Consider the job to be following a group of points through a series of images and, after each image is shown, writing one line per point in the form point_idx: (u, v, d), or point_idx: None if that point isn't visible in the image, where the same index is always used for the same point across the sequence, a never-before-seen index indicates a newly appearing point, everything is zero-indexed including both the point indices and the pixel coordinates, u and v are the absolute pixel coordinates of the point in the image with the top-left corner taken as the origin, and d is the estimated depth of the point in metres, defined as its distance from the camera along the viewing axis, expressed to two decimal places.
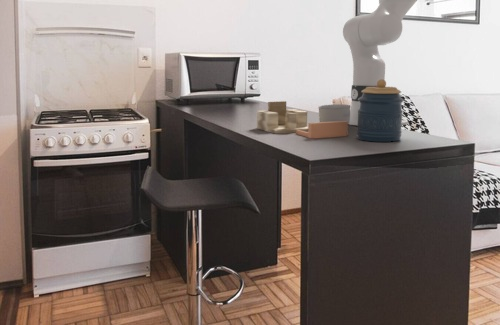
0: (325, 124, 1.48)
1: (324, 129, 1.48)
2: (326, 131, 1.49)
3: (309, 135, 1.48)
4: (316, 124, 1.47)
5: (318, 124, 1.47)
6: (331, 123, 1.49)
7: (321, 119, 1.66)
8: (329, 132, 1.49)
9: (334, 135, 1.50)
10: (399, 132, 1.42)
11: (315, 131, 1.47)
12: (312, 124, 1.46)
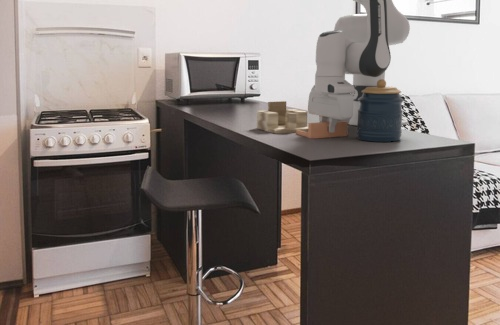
0: (325, 124, 1.48)
1: (324, 129, 1.48)
2: (326, 131, 1.49)
3: (309, 135, 1.48)
4: (316, 124, 1.47)
5: (318, 124, 1.47)
6: None
7: None
8: (329, 132, 1.49)
9: (334, 135, 1.50)
10: (399, 132, 1.42)
11: (315, 131, 1.47)
12: (312, 124, 1.46)
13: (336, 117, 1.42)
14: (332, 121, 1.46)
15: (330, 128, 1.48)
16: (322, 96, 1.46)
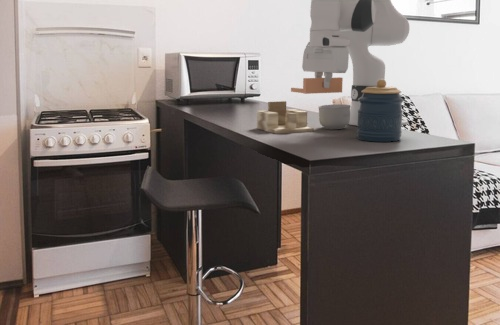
0: (320, 79, 1.47)
1: (319, 84, 1.48)
2: (321, 87, 1.48)
3: (304, 90, 1.47)
4: (311, 79, 1.46)
5: (313, 79, 1.46)
6: None
7: (321, 119, 1.66)
8: None
9: (329, 91, 1.50)
10: (399, 132, 1.42)
11: (310, 86, 1.47)
12: (307, 79, 1.46)
13: (331, 71, 1.41)
14: (327, 76, 1.45)
15: (325, 83, 1.47)
16: (316, 50, 1.45)
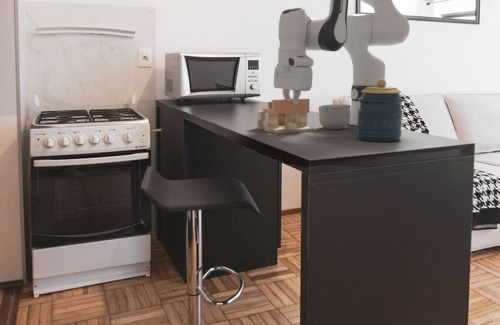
0: (287, 101, 1.58)
1: (287, 106, 1.59)
2: (289, 107, 1.59)
3: (272, 111, 1.58)
4: (279, 101, 1.57)
5: (281, 101, 1.58)
6: None
7: (321, 119, 1.66)
8: (292, 108, 1.60)
9: (296, 111, 1.61)
10: (399, 132, 1.42)
11: (278, 107, 1.58)
12: (275, 101, 1.57)
13: (296, 88, 1.52)
14: (295, 93, 1.55)
15: (294, 100, 1.57)
16: (284, 69, 1.56)
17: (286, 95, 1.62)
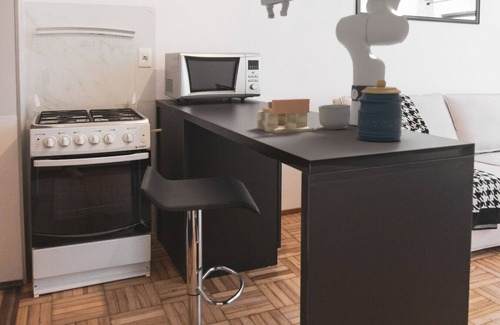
0: (287, 101, 1.58)
1: (287, 106, 1.59)
2: (289, 107, 1.59)
3: (272, 111, 1.58)
4: (279, 101, 1.57)
5: (281, 101, 1.58)
6: (293, 100, 1.59)
7: (321, 119, 1.66)
8: (292, 108, 1.60)
9: (296, 111, 1.61)
10: (399, 132, 1.42)
11: (278, 107, 1.58)
12: (275, 101, 1.57)
13: None
14: (284, 4, 1.57)
15: (283, 11, 1.59)
16: None
17: (270, 11, 1.68)
